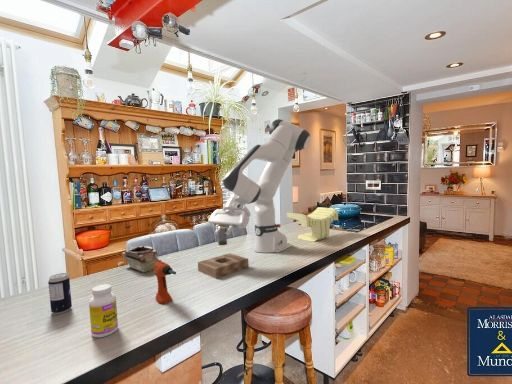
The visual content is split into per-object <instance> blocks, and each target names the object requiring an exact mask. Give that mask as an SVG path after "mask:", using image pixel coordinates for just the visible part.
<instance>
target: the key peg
mask: <svg viewBox="0 0 512 384" xmlns="http://www.w3.org/2000/svg"><path fill="white" fill-rule="evenodd" d="M217 229H218V234H217V245H218V246H227V245H228V235H225V234H224V232H225V230H227V227H226V226H218V227H217Z"/></svg>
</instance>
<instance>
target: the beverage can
mask: <svg viewBox="0 0 512 384" xmlns="http://www.w3.org/2000/svg"><path fill="white" fill-rule="evenodd" d="M70 282H71V281H70V276H69V275H68V273H67V272H61V273H60V272H59V273H57V274H53V275H51V276H49V277H48V282H47V283H48V294H49V303H50V304H49V305H50V312H51V313H53V314H54V315H60V314H64V313H66V312H68V311H70V309H71V308H72V306H73V305H72V294H71V293H72V292H71V284H70Z"/></svg>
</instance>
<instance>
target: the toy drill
mask: <svg viewBox="0 0 512 384" xmlns="http://www.w3.org/2000/svg"><path fill="white" fill-rule="evenodd" d="M153 274H154V275H155V276H156V278H157V293H156V294H155V300H156V302H157V303H158V304H159V305H160V304H161V305H166V304H168V303H171V302H172V301H173V298H172V296H171V294H170V293H169V292H168V285H167V277H166V276H167V275H169V276H170V275H176V274H177V272H176V271H175V270H173V268H172V267H171V265H169V263H166V262H164V261H162V260H161V259H159V260H158V261H157V262H156V263H155V265H154V269H153Z"/></svg>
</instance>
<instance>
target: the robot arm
mask: <svg viewBox="0 0 512 384" xmlns="http://www.w3.org/2000/svg"><path fill="white" fill-rule="evenodd" d="M268 134H269V136H268V137H267V139H266V140H265V142H264V143H262V144H257V145H255V146H253V147H252V148H251V149H250V150H248V151H247V153H246V154H245V155H244V156H243V157H242V158H241V159H239V161H238V162H237V163H236V164H235V166H233V167H232V169H230V170H229V171H228V172H227V173H225V175H224V176H223V178H222V184H223V187H224V189H226V190H228V191H229V192H231V193H230V196H229V198H228V199H227V201H226V203H225V204H224V207H223V208H217V209H216V210H214V211H213V213H211V214H210V216H209V218H208V220H207V221H208V222H207V223H208V224H209V225H210V226H211V227H215V230H214V234H215V235H218V229H217V227H218V226H226V228H228V229H226V230H225V232H224V234H225V235H227V236H230V234H231V233H232V232H233V231H234V230H235V229H242V230H245V228H247V226H248V224H249V222H250V217H251V216H252V214H251V212H250V210H249V209H248V207H247V206H246V205H250V204H253V205H254V214H255V215H254V219H255V221H254V223H255V224H254V232H255V235H254V236H255V239H254V245H253V246H254V247H253V251H255V252H257V253H261V254H263V253H267V254H269V253H280V252H282V251H284V250H287V249H288V248H291V247H292V244H291V243H289V242H288V240H287V239H288V238H287V236H286V235H285V234H284V233H282V232H281V231H280V230H279V229H280V228H281V227H282V225H281V223H276V210H275V204H274V197H275V195H276V193H277V191H278V188H279V186H280V183H281V181H282V178H283V176H284V175H285V173H286V171H287V169H288V168H289V165H290V164H291V162H292V159H293V157H294V154H295V153H296V152H298V151H302V150H304V149H305V148H306V147H307V146H308V145H309V143H310V139H311V134H310V132H309V131H308V130H306V129H304V128H301V126H298V125H296V124H293V123H291V122H287V121H284V119H279V118H277V119H274V120H273V121H272V122H271V124H270V126H269V129H268ZM254 160H259V161H262V162H263V161H264V162H266V164H265V166H264V169H263V170H262V172H261V175H260V177H259V180H257V181H254V180H252V179H251V178H249V177H248V176H247V175H245V174H244V172H243V171H244V170H245V169H247V167H248V166H249V165H250V164H251V163H252V162H253V161H254ZM278 228H279V229H278Z"/></svg>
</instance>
